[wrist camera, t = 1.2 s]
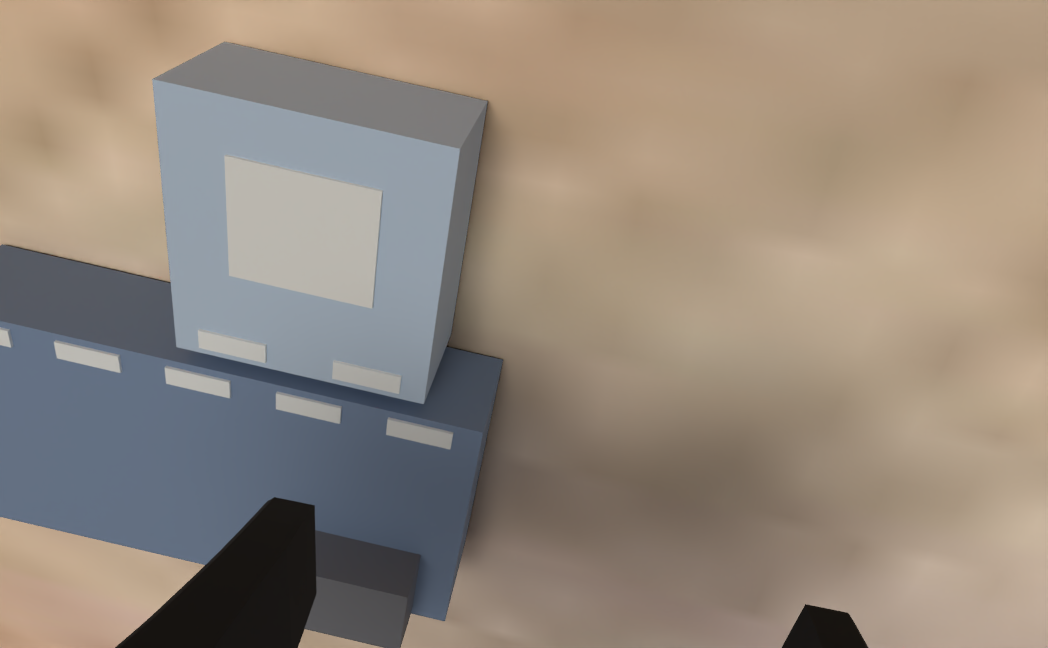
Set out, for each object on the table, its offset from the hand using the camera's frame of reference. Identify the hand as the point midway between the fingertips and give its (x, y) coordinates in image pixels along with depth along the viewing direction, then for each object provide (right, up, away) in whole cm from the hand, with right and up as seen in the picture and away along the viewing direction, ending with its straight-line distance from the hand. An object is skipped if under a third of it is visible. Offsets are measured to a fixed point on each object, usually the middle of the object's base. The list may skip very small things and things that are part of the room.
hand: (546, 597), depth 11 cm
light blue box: (-5, +7, +8) cm, 11 cm away
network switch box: (-8, +2, +12) cm, 14 cm away
